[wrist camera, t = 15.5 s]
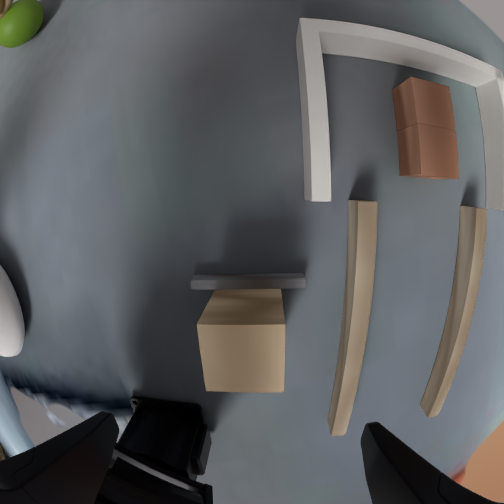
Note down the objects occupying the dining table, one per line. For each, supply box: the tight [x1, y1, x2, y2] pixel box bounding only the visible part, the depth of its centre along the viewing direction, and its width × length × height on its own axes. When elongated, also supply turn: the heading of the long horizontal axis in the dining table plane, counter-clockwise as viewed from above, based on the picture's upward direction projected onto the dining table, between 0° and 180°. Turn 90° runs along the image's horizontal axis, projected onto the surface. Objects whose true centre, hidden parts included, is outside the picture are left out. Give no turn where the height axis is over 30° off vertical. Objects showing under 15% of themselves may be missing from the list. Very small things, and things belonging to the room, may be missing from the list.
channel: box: [328, 200, 487, 436], centre depth 17 cm, size 10×18×2 cm, turn 2°
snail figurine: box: [0, 0, 44, 48], centre depth 8 cm, size 5×6×12 cm
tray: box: [296, 18, 504, 211], centre depth 14 cm, size 16×11×3 cm
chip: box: [392, 77, 455, 131], centre depth 14 cm, size 3×3×3 cm
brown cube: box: [397, 123, 459, 179], centre depth 15 cm, size 3×3×3 cm
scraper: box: [190, 273, 306, 392], centre depth 16 cm, size 7×5×6 cm, turn 92°
